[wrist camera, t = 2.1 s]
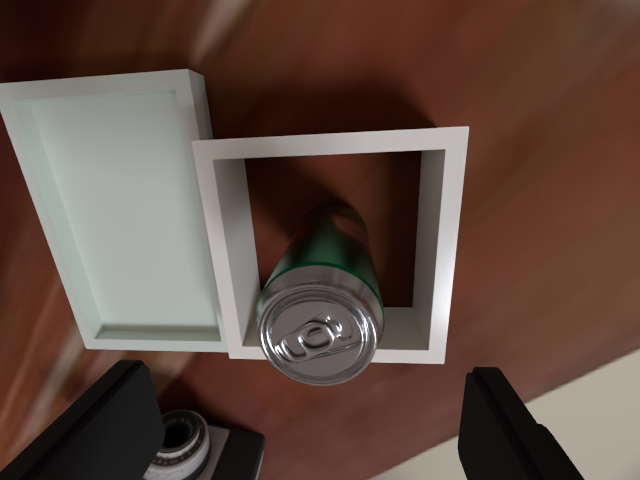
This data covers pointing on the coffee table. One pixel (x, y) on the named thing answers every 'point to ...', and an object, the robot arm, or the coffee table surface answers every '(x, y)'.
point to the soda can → (323, 301)
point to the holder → (431, 244)
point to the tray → (123, 203)
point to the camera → (205, 450)
